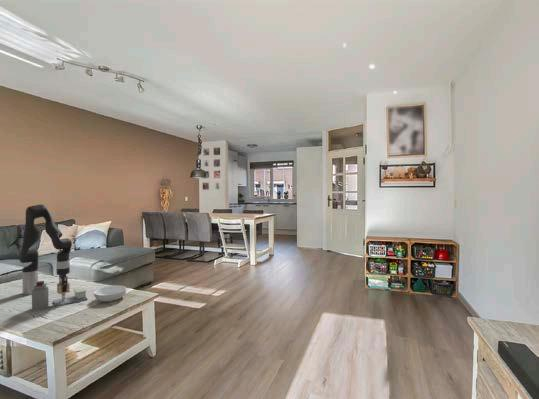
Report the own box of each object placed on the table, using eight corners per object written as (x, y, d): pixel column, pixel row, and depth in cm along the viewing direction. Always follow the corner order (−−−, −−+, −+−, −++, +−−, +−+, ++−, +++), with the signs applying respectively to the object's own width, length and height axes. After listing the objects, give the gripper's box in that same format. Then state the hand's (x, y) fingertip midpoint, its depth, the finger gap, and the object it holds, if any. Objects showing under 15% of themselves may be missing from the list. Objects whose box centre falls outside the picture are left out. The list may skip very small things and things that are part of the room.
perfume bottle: (36, 307, 188) (36, 280, 187) (48, 305, 190) (48, 279, 190) (32, 311, 182) (31, 283, 181) (44, 309, 184) (44, 282, 183)
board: (53, 302, 196) (52, 293, 196) (82, 295, 209) (82, 287, 209) (56, 307, 188) (56, 298, 188) (87, 299, 201) (87, 291, 201)
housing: (74, 296, 204) (74, 289, 204) (83, 294, 208) (82, 287, 208) (77, 299, 198) (77, 292, 198) (86, 297, 202) (86, 290, 202)
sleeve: (57, 292, 195) (57, 283, 195) (67, 289, 200) (67, 281, 200) (59, 294, 191) (59, 285, 191) (69, 291, 196) (69, 283, 196)
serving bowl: (112, 306, 191) (112, 296, 190) (86, 303, 195) (86, 293, 195) (132, 295, 211) (132, 286, 211) (109, 293, 215) (109, 284, 215)
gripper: (54, 266, 197) (54, 289, 197) (58, 270, 187) (59, 294, 188) (67, 264, 203) (67, 287, 203) (72, 267, 193) (72, 291, 193)
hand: (63, 290), depth 195 cm, fingers closed on sleeve, 6 cm apart
